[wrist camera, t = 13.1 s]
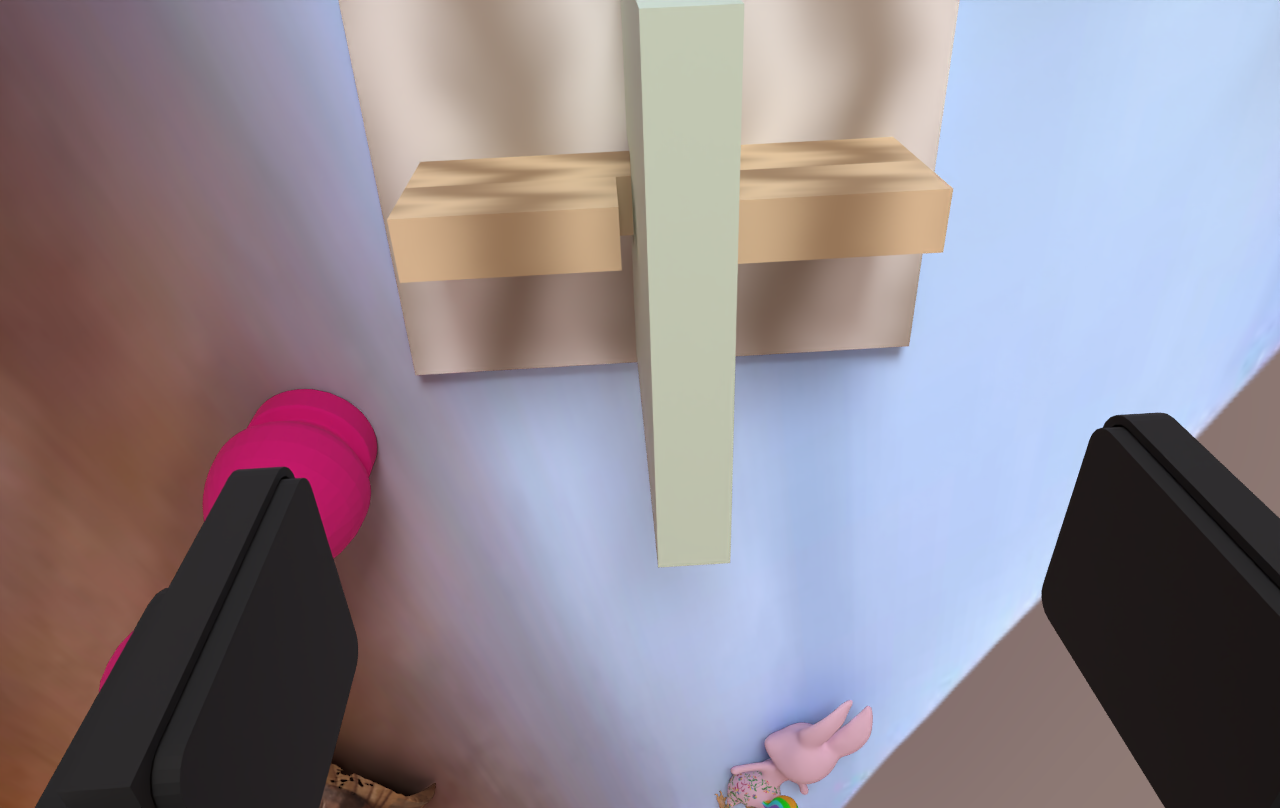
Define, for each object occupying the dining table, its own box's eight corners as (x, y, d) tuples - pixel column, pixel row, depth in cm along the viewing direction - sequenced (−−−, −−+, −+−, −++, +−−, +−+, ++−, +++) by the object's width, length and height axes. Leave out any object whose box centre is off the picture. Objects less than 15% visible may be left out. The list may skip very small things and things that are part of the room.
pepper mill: (349, 362, 42) (185, 698, 25) (410, 475, 45) (304, 834, 29) (214, 400, 42) (-34, 752, 25) (285, 508, 46) (111, 878, 29)
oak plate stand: (419, 364, 42) (386, 460, 35) (335, -48, 32) (269, -27, 26) (902, 336, 43) (962, 424, 36) (960, -78, 33) (1057, -64, 26)
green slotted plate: (618, -46, 32) (639, 8, 19) (682, -49, 32) (744, 3, 19) (636, 352, 41) (658, 567, 28) (686, 349, 41) (730, 562, 28)
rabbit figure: (768, 786, 64) (895, 693, 55) (775, 871, 60) (915, 783, 51) (696, 766, 62) (815, 666, 54) (698, 852, 58) (829, 757, 49)
